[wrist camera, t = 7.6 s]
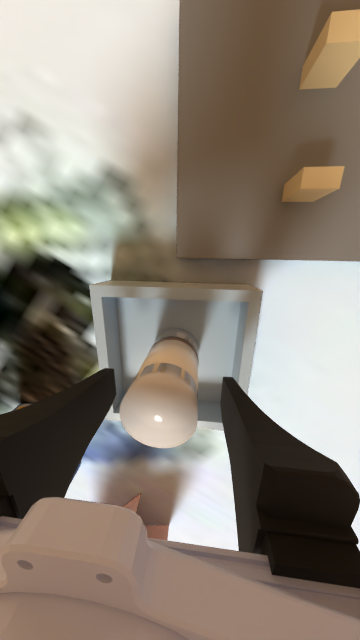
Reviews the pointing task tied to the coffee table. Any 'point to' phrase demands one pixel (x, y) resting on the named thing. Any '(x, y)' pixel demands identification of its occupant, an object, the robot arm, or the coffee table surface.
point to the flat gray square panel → (269, 130)
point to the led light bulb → (164, 392)
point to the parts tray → (177, 312)
